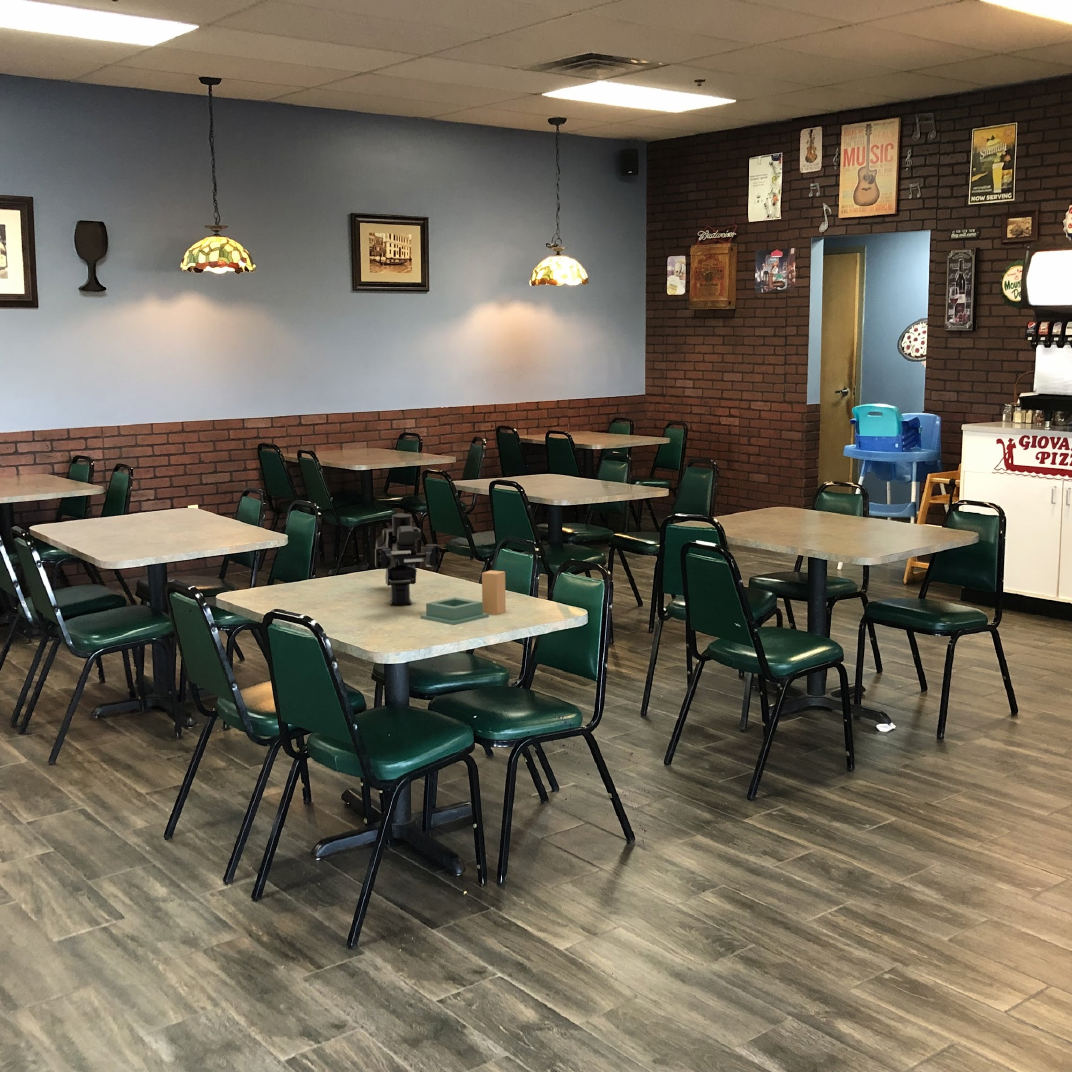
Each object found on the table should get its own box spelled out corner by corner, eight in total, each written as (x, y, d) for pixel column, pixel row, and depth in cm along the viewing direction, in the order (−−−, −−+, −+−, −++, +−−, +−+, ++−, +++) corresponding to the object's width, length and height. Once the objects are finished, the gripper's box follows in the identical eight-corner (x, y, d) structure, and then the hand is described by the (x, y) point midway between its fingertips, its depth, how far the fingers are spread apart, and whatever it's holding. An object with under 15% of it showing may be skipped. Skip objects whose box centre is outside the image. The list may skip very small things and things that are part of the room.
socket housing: (420, 618, 350) (419, 603, 350) (455, 610, 360) (455, 596, 360) (453, 624, 341) (453, 609, 340) (488, 616, 351) (488, 602, 350)
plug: (482, 613, 356) (481, 573, 354) (490, 610, 360) (490, 570, 359) (497, 614, 354) (496, 574, 352) (505, 611, 358) (505, 571, 356)
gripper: (371, 525, 356) (378, 537, 341) (434, 522, 361) (444, 534, 346) (372, 562, 359) (379, 575, 344) (434, 558, 363) (444, 572, 349)
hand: (411, 563), depth 345 cm, fingers open, 9 cm apart
